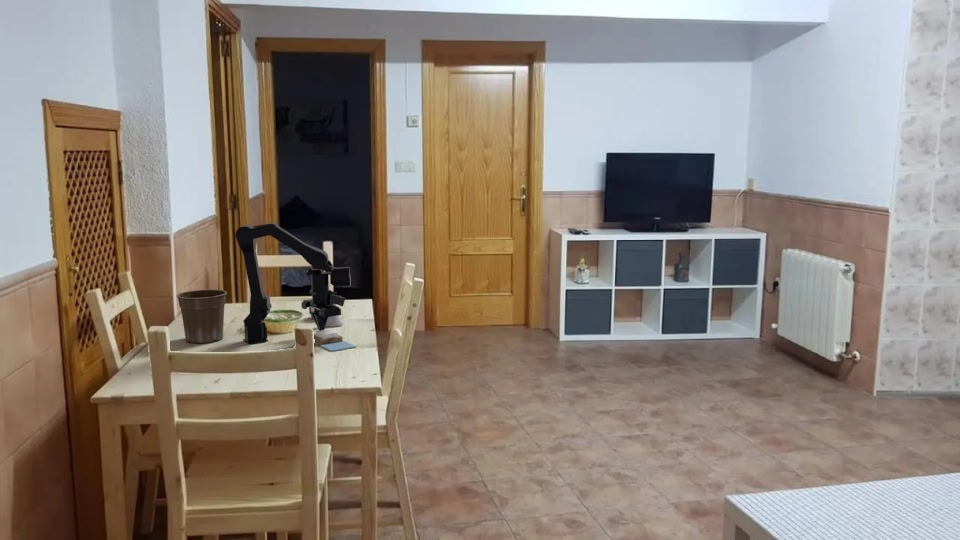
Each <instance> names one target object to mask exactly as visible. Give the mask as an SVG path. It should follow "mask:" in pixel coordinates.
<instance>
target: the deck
mask: <svg viewBox="0 0 960 540" xmlns="http://www.w3.org/2000/svg"><path fill="white" fill-rule="evenodd" d="M313 334H314V339H315V343H316V344H315V343H314V344H315V345H317V346H320V345H325V344H331V343H337V342H343V336H342V335H340V334H337V337H333V338H327V339H322V338H320V337H318V336H316V333H313Z"/></svg>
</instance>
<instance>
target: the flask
mask: <svg viewBox="0 0 960 540" xmlns="http://www.w3.org/2000/svg"><path fill="white" fill-rule="evenodd" d="M333 305H335V306H337V305H336V304H333ZM343 324H344V323H343V320H342V318H341V315H338V316H331V317H328V319H327V322H326V326H325V328H327V327H330V328H331V327H332V328H333V327H341V326H343Z"/></svg>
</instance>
